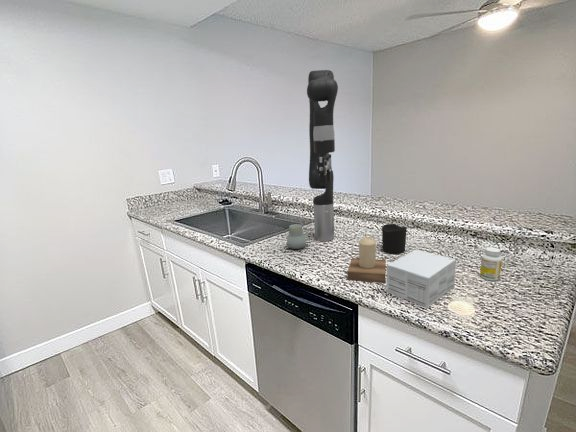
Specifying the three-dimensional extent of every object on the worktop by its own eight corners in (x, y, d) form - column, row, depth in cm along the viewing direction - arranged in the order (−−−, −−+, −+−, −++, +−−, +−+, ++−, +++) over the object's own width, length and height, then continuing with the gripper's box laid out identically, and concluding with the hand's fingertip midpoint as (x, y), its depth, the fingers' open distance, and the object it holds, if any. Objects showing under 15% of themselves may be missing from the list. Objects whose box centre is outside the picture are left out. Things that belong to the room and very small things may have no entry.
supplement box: (414, 274, 104) (415, 248, 101) (454, 287, 94) (456, 259, 91) (385, 292, 93) (386, 263, 91) (427, 308, 83) (429, 277, 81)
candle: (364, 269, 102) (364, 241, 100) (356, 263, 107) (356, 236, 105) (378, 267, 104) (378, 239, 101) (370, 261, 109) (370, 234, 106)
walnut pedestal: (351, 265, 113) (351, 257, 113) (385, 267, 110) (385, 259, 109) (347, 279, 102) (347, 271, 102) (385, 282, 99) (385, 274, 98)
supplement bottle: (487, 281, 95) (491, 253, 93) (476, 274, 100) (478, 247, 98) (504, 280, 96) (507, 251, 93) (491, 273, 101) (494, 245, 98)
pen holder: (402, 246, 129) (403, 223, 127) (408, 254, 120) (409, 230, 118) (379, 246, 130) (380, 224, 128) (384, 254, 121) (384, 231, 119)
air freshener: (306, 251, 131) (305, 228, 128) (287, 252, 131) (285, 230, 128) (305, 242, 141) (304, 221, 139) (287, 243, 142) (286, 222, 139)
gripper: (317, 139, 117) (319, 181, 121) (309, 140, 104) (311, 187, 108) (337, 138, 115) (338, 180, 119) (330, 139, 102) (332, 186, 106)
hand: (325, 183), depth 114 cm, fingers open, 8 cm apart
